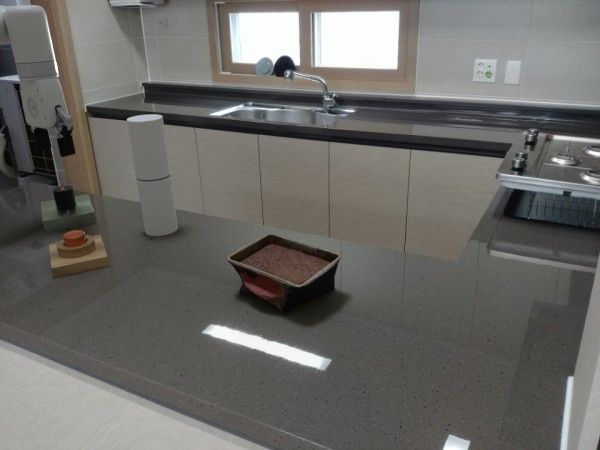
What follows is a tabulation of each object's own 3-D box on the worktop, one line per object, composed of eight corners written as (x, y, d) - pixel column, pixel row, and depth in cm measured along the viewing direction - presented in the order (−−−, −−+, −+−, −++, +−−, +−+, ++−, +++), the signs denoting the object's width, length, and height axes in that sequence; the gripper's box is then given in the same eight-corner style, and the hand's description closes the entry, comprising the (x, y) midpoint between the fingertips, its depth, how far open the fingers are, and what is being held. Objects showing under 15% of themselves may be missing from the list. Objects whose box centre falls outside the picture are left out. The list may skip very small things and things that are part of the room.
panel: (43, 213, 132) (40, 201, 131) (90, 205, 136) (88, 193, 135) (45, 233, 120) (42, 220, 119) (96, 223, 125) (94, 210, 123)
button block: (51, 254, 110) (46, 236, 109) (102, 243, 114) (98, 226, 112) (53, 278, 100) (49, 259, 98) (109, 266, 104) (105, 247, 102)
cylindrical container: (139, 235, 117) (119, 121, 107) (154, 222, 124) (137, 114, 114) (169, 237, 116) (152, 122, 106) (183, 224, 122) (168, 114, 112)
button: (64, 242, 106) (62, 232, 106) (85, 237, 108) (83, 228, 107) (65, 249, 103) (63, 240, 102) (87, 245, 105) (85, 235, 104)
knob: (56, 205, 128) (51, 186, 126) (75, 201, 130) (71, 183, 128) (57, 211, 124) (52, 191, 123) (77, 207, 126) (73, 188, 124)
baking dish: (288, 338, 83) (296, 283, 79) (216, 286, 93) (219, 235, 89) (346, 306, 93) (356, 256, 89) (275, 262, 103) (281, 215, 99)
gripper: (-1, 71, 111) (19, 151, 118) (41, 75, 101) (61, 162, 108) (34, 66, 117) (51, 143, 124) (77, 70, 107) (94, 153, 114)
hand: (56, 152), depth 116 cm, fingers open, 9 cm apart
